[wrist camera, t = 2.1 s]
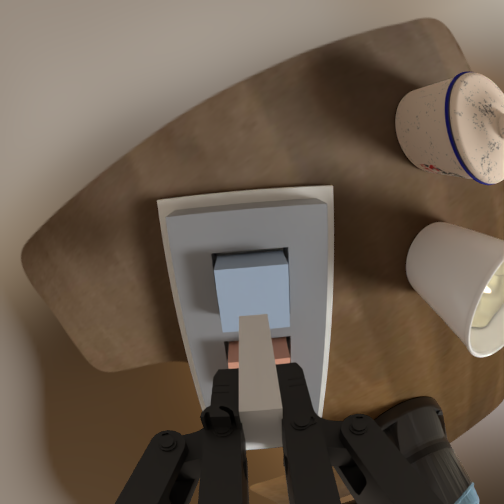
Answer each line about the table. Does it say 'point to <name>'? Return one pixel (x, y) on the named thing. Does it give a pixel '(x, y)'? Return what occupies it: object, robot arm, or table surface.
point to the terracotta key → (278, 348)
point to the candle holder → (461, 282)
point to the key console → (243, 242)
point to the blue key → (253, 288)
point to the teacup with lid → (455, 128)
